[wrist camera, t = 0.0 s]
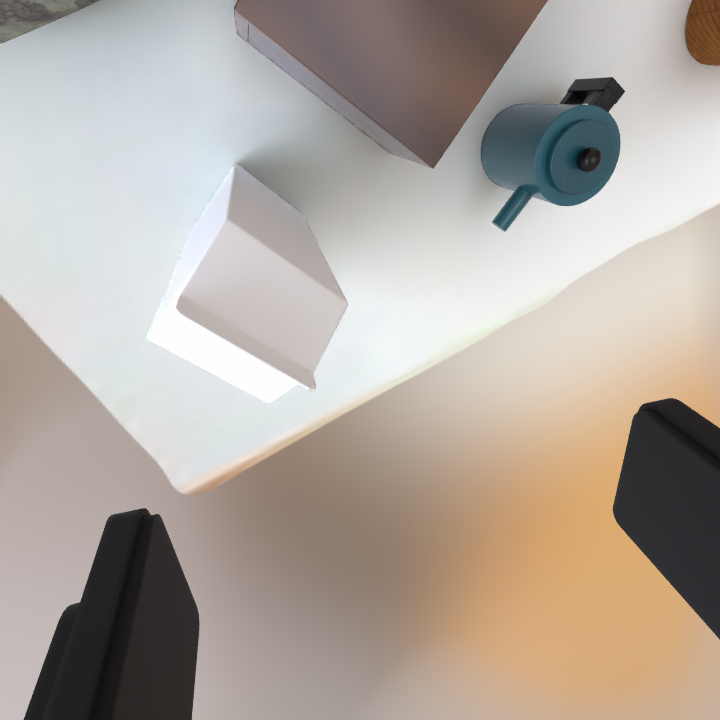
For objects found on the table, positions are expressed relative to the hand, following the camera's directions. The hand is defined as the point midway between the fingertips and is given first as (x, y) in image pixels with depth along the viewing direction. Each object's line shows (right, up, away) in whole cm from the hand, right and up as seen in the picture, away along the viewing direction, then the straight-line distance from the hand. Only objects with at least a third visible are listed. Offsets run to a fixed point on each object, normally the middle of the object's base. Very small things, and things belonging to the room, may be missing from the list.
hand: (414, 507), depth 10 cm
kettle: (+11, +19, +28) cm, 36 cm away
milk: (-9, +13, +27) cm, 32 cm away
